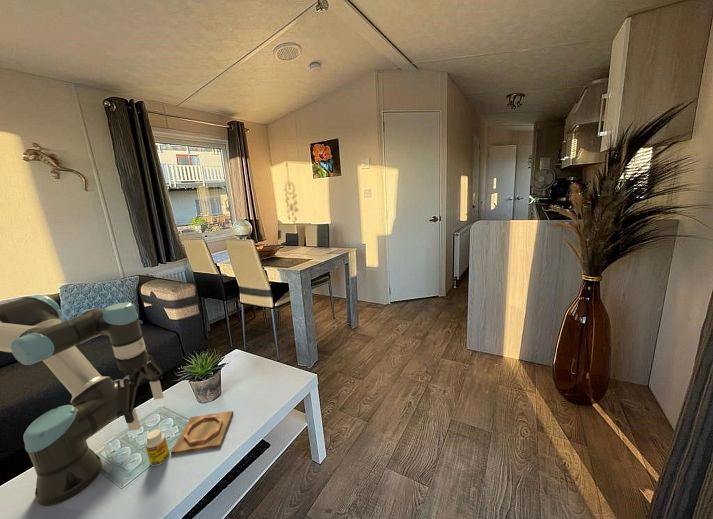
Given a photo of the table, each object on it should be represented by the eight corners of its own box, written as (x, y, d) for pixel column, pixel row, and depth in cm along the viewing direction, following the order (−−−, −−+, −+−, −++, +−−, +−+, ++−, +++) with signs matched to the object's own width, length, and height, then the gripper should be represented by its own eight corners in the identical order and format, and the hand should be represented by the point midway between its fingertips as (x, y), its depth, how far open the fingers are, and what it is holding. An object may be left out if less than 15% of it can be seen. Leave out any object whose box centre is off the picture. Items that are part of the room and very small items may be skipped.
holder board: (171, 455, 100) (169, 449, 99) (191, 419, 115) (189, 415, 115) (220, 447, 102) (219, 442, 101) (233, 413, 117) (232, 408, 117)
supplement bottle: (150, 470, 95) (142, 444, 92) (150, 457, 99) (143, 432, 97) (170, 460, 98) (163, 435, 95) (169, 449, 102) (163, 424, 100)
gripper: (117, 376, 78) (137, 442, 83) (164, 332, 102) (177, 386, 107) (86, 380, 77) (108, 447, 82) (141, 335, 101) (155, 389, 106)
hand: (147, 412), depth 94 cm, fingers open, 13 cm apart
